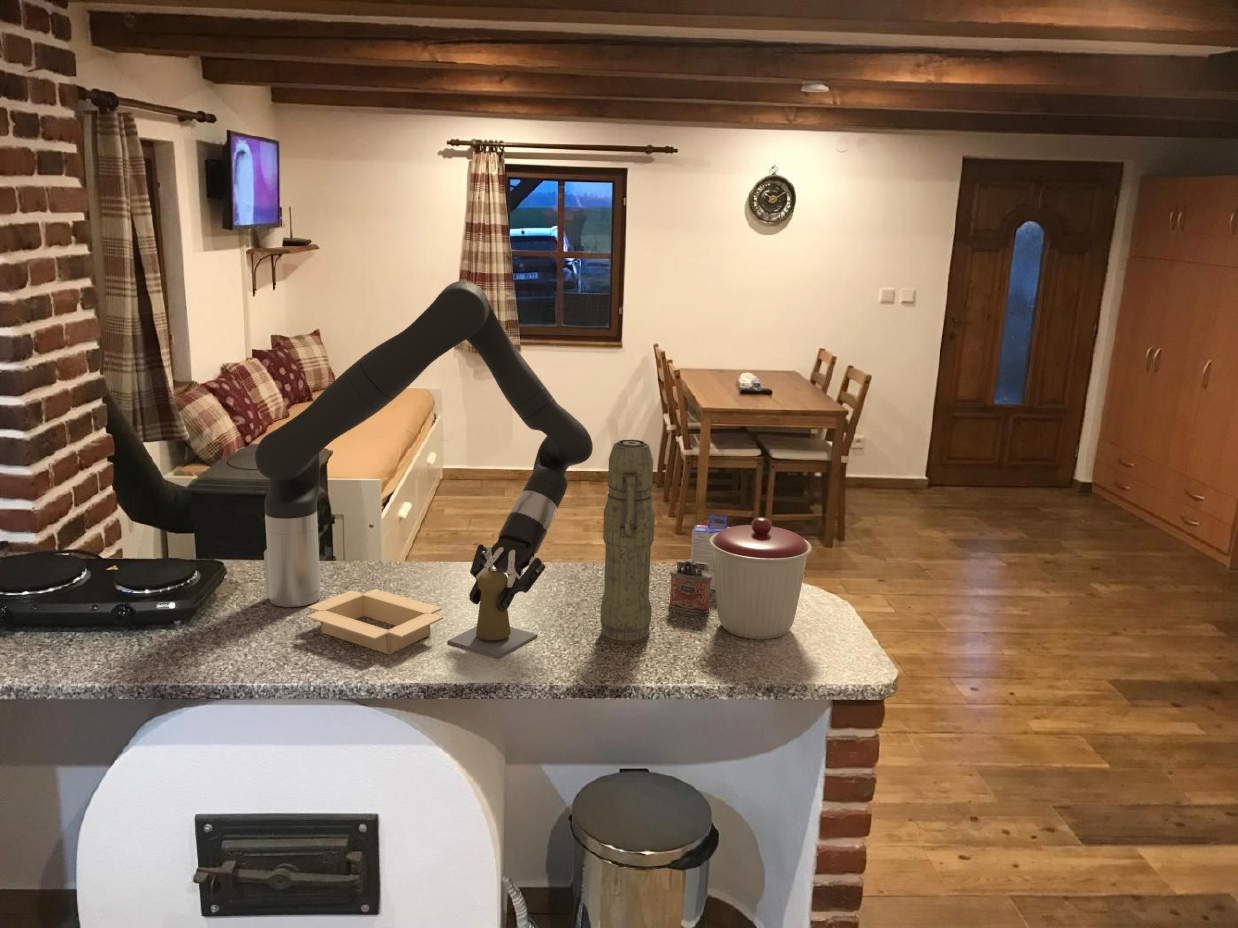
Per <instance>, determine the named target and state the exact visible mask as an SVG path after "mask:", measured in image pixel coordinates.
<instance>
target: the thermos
mask: <svg viewBox="0 0 1238 928" xmlns="http://www.w3.org/2000/svg"><path fill="white" fill-rule="evenodd" d="M607 471H608V478H607V486H608V493H607V501H606V504H605V507H604V509H603V522H602V523H603V524H602V525H603V526H602V528H603V529H602V533H603V534H602V539H603V542H604V544H605V553H604V554H605V555H604V558H605V559H604V585H603V586H604V591H603V595H602V598H601V602H600V618H599V619H600V623H601V629H600V636H601V637H602V639H603V640H605V641H606V642H608V643H612V644H617V645H636V644H641V643H644V642H646V641H647V640H648V639H649V638H650V625H651V622H652V603H651V601H650V597H649V596H650V579H651V578H650V574H651V572H650V571H651V547H652V545H653V542H654V540H655V521H656V520H655V517H656V512H655V508H654V506H653V495H652V488H653V478H654V477H653V476H654V475H653V474H654V459H653V455H652V450H651V447H650V444H649V443H646V442H645V441H643V440H639V439H621V440H618V441H617V442H615V443H614V444H613V446H612V448H611V451H610V453H609V456H608V470H607Z"/></svg>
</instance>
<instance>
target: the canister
mask: <svg viewBox="0 0 1238 928" xmlns="http://www.w3.org/2000/svg"><path fill="white" fill-rule="evenodd" d="M710 545H711V546H712V548H713V557H714V574H715V590H714V591H715V601H716V612H717V616H718V620H719V623H720V625H721V626H722V627H723V629H725V631H728V632H729V633H731V634H732V635H735V636H738V637H740V638H745V639H751V640H752V639H753V640H771V639H775V638H779V637H781V636H784V635H785V634H787V633H788V632H789V631H790V629H791V628H792V626H793V624H794V621H795V618H796V614H797V609H798V605H799V600H800V594H801V591H802V590H801V589H802V584H803V580H804V575H805V574H804V573H805V570H806V564H807V563H806V562H807V558H808V556H809V555H810V554H811V552H812V549H813V546H812V544H811V543H810V542H809V541H807V540H806V539H805V538H804V537H803V536H801V535H799V534H798V533H795V532H794V531H791V530H789V529H785V528H781V527H777V526H772V522H771V520H770V519H768V518H767V517H762V516H760V517H756V518H753V520H752V521H751V524H744V525H736V526H735V525H734V526H730V528H726V529H724V530H722V531H720V532H718V533H716V534H714V535H713V536H712V537H711V538H710Z"/></svg>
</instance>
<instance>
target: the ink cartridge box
mask: <svg viewBox="0 0 1238 928" xmlns="http://www.w3.org/2000/svg"><path fill="white" fill-rule="evenodd" d="M714 520H720V521H723V523H720V522H713V521H714ZM727 520H728V516H723V515H713V514H711V515H709V519H708V525H702V524H695V525H694V527H693V529H692V531H691V541H690V542H691V543H690V559H692V560H694V562H703V563H708V564H709V568H708V571H704V570H702V572H703V573H707V574H710V575H712V580H711V581H710V590H712V591H715V574H714V557H713V548H712V546H711V545H710V538H711V537H712V536H713V535H714V534H716V533H718V532H720V531H722V530H724V529H726V528H730V527H731V526H730V527H729V526H727V525H728V521H727ZM696 571H697V569H696Z"/></svg>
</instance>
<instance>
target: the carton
mask: <svg viewBox="0 0 1238 928" xmlns="http://www.w3.org/2000/svg"><path fill="white" fill-rule="evenodd" d="M307 609H308V610H311V611H315V612H313V613H311V614H308V615H306V617H305V618H307V619H310V620H312V621H316V622H320V633H322V634H326V635H328V636H331V637H335V638H338V639H340V640H344V641H347V642H349V643H353V644H356V645H359V646H363V647H366V648H368V649H371V650H374V651H377V650H378V652H380V653H383V654H386V655H390V654H393V653H395V652H397V651H399V650H401V649H403V648H405V647H407V646H410V645H411V644H414V643H415V642H417V641H419V640H422V639H425V638H426V637H428V636H431V635H432V633H431V625H433V624H435V623H437V622H439V621H442V620H443V619H444V616H441V615H438V614H436V613H438V612H439V611H442V609H443V608H442V607H440V606H436V605H432V604H430V603H426V602H422V601H419V600H415V599H411V598H408V597H404V596H401V595H397V594H395V593H391V592H387V591H383V590H380V589H376V588H374V589H372V590H369V591H367V592H364V593H363V592H359V591H356V590H353V589H352V590H348V591H346V592H343V593H340V594H339V595H335V596H333V597H330V598H327V599H325V600H322V601H319V602H317V603H315V604H314V603H313V604H312V605H309V606H308V608H307ZM362 617H367V618H370V619H373V620H377V621H379V622H383V623H386V624H389V625H393V627H392V628H389V629H386V628H384V627H380V626H377V625H373V624H370V623H367V622H364V621H361V620H358V619H361V618H362Z"/></svg>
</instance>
